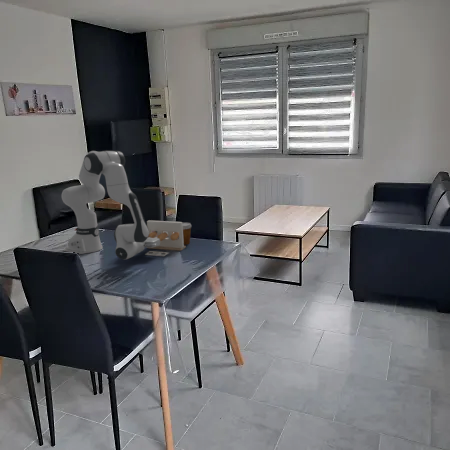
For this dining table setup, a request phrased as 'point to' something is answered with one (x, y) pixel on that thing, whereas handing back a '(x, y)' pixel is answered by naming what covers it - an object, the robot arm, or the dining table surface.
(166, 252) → the card
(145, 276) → the dining table surface
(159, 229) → the panel
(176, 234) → the button right
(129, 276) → the dining table surface
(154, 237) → the button left
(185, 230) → the disposable coffee cup
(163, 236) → the button middle
